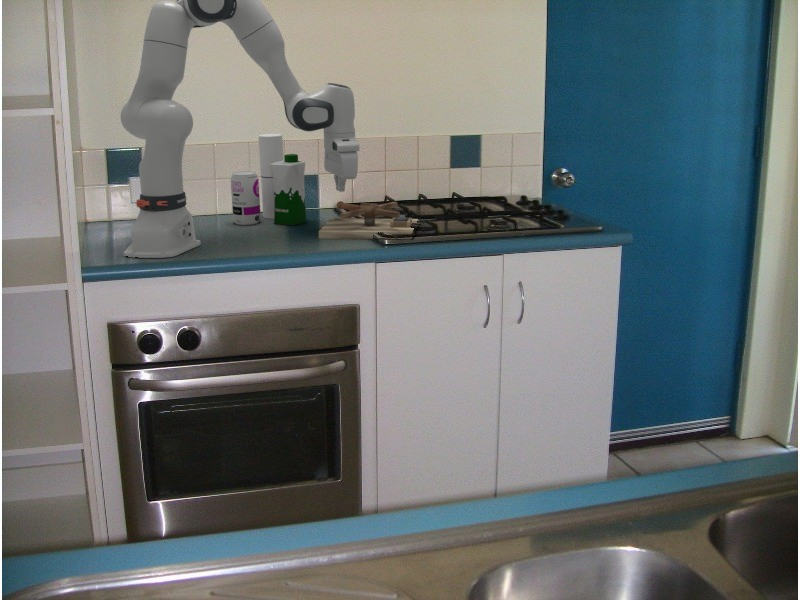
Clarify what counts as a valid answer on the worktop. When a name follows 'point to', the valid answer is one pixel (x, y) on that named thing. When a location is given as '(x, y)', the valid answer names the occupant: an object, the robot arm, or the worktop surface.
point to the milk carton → (289, 190)
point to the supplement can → (245, 198)
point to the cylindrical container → (269, 169)
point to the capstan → (368, 210)
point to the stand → (364, 227)
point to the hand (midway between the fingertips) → (340, 190)
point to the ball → (401, 218)
